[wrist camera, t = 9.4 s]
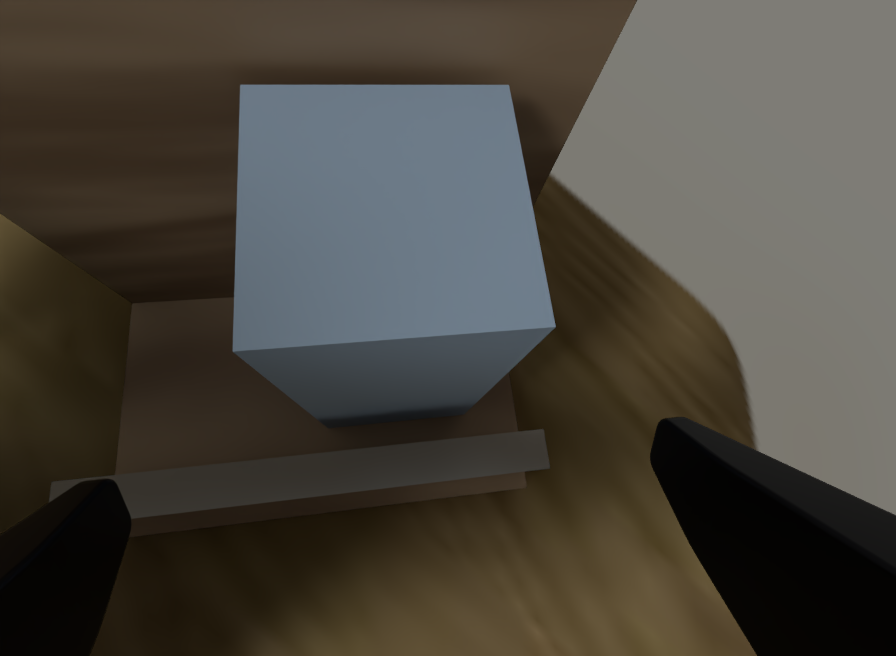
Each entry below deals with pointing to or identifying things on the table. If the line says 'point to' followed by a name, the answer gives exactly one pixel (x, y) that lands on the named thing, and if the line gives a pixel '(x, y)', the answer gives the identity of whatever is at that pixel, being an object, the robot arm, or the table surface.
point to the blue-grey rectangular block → (384, 248)
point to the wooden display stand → (214, 223)
